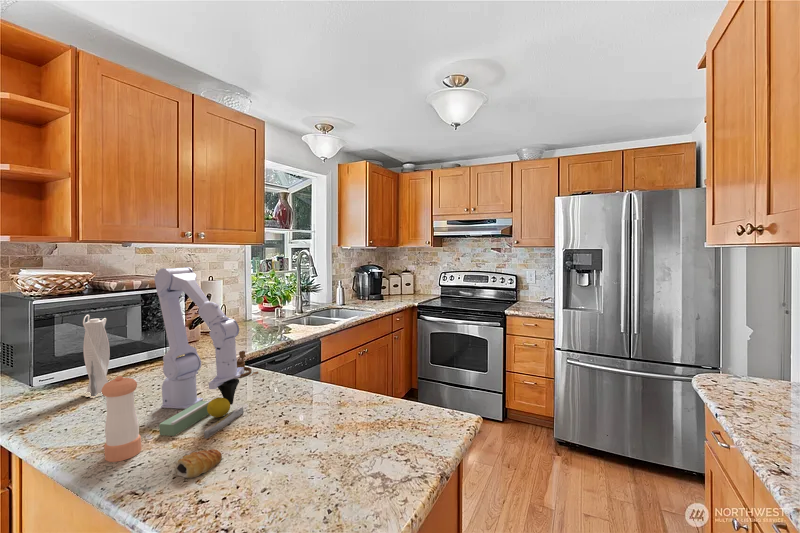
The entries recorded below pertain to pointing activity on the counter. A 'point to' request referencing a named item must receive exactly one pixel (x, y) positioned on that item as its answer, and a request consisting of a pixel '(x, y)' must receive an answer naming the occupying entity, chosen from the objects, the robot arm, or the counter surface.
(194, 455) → the pastry
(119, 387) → the salt shaker
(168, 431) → the pale green rectangular bar
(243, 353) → the place setting
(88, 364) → the beige tall twisted piece
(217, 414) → the lemon
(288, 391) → the counter surface
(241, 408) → the rail
